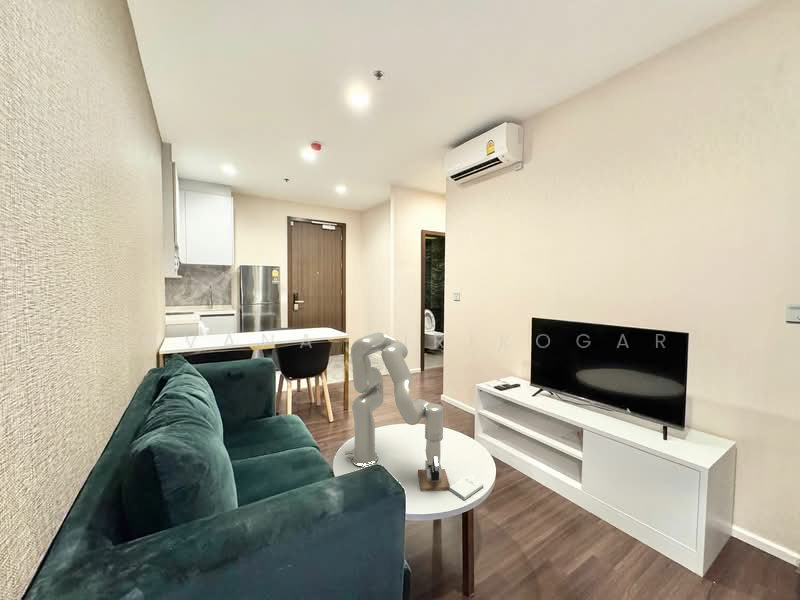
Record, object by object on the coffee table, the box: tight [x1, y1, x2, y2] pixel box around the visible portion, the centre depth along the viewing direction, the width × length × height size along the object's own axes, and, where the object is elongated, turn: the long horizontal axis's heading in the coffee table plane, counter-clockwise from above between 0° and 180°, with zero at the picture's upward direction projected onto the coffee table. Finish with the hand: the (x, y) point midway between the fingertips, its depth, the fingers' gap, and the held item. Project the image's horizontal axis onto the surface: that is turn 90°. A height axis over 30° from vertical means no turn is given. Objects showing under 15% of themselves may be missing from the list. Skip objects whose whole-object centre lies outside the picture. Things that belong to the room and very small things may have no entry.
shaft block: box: [417, 465, 451, 492], centre depth 138 cm, size 12×12×6 cm
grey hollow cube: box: [424, 459, 443, 483], centre depth 138 cm, size 6×6×6 cm
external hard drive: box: [448, 474, 484, 501], centre depth 134 cm, size 2×8×12 cm
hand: (433, 472), depth 138 cm, fingers open, 9 cm apart
